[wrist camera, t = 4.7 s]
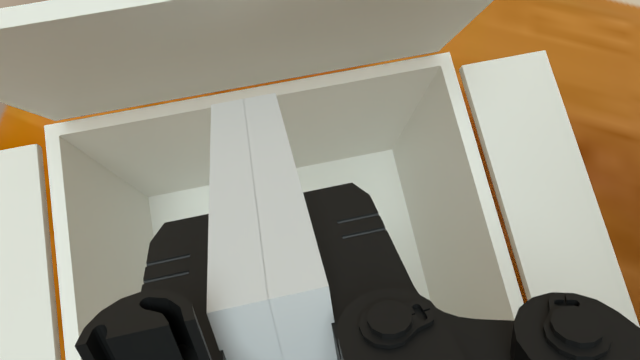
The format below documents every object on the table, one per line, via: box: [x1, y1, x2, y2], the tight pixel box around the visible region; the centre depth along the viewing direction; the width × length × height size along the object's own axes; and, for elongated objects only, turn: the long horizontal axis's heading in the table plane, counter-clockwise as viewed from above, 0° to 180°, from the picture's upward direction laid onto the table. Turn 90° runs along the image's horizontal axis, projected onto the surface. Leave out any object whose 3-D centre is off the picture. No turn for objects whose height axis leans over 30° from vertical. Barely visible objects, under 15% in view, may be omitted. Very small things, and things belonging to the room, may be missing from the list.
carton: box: [0, 50, 640, 360], centre depth 24 cm, size 24×15×12 cm, turn 102°
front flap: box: [0, 0, 493, 121], centre depth 15 cm, size 15×1×9 cm, turn 102°
